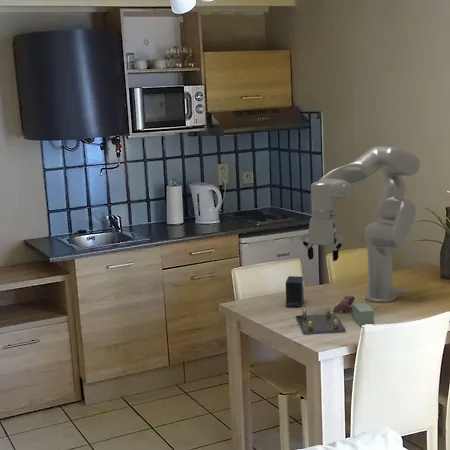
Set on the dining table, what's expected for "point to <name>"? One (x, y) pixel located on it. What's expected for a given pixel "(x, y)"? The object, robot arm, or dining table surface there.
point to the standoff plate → (319, 323)
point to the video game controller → (344, 304)
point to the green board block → (362, 314)
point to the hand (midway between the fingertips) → (323, 259)
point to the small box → (294, 291)
